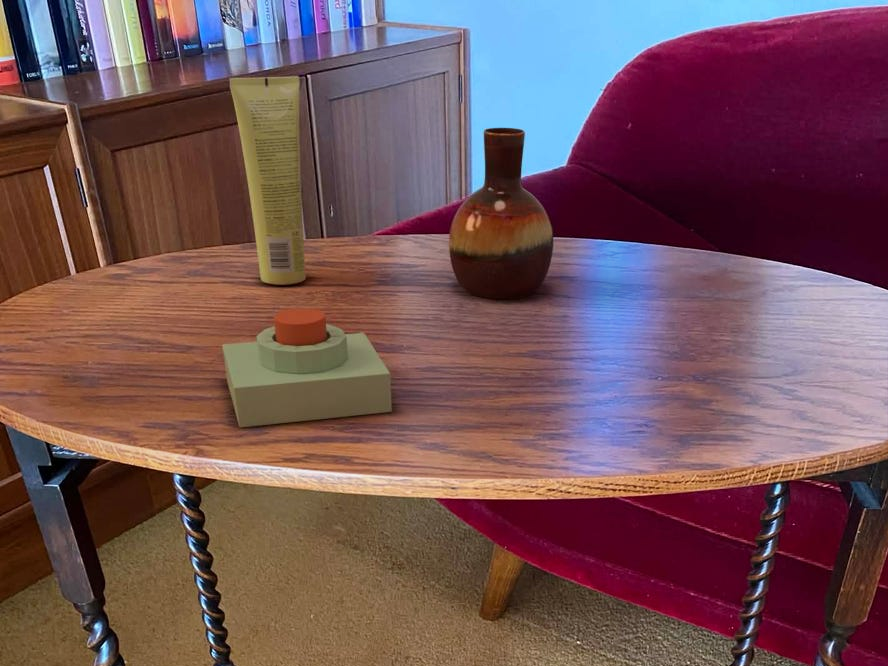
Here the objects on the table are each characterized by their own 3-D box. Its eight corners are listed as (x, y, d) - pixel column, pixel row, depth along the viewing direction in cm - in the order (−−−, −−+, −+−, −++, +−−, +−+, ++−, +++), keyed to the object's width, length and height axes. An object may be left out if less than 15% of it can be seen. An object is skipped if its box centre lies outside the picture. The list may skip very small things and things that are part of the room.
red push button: (280, 351, 74) (277, 325, 73) (273, 335, 78) (270, 309, 76) (331, 347, 75) (329, 321, 74) (322, 331, 79) (320, 306, 77)
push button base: (239, 427, 74) (230, 364, 71) (227, 381, 82) (218, 322, 79) (391, 412, 77) (389, 350, 74) (366, 368, 84) (363, 311, 82)
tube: (273, 271, 109) (252, 72, 97) (315, 274, 108) (299, 74, 97) (253, 285, 104) (228, 78, 93) (297, 288, 104) (277, 80, 92)
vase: (524, 310, 99) (531, 143, 90) (430, 294, 103) (428, 133, 94) (566, 284, 107) (577, 128, 98) (477, 270, 111) (480, 119, 102)
